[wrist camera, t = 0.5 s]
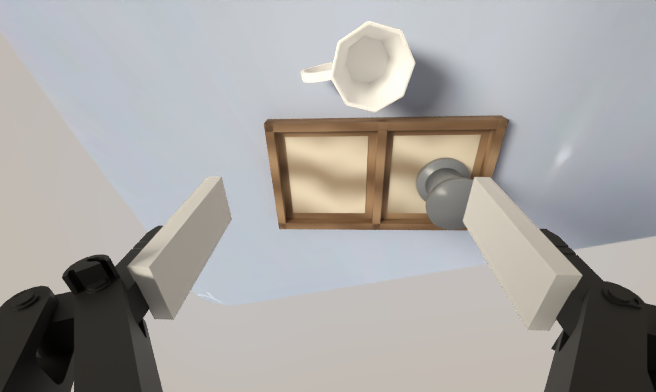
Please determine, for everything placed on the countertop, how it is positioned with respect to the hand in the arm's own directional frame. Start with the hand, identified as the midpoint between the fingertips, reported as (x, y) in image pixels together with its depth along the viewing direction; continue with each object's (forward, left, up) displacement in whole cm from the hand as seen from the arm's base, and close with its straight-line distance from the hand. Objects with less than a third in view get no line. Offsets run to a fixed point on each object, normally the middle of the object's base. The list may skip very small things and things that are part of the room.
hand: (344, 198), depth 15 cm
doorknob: (+10, +12, -20) cm, 25 cm away
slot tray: (+9, +4, -21) cm, 23 cm away
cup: (-4, +1, -21) cm, 21 cm away
